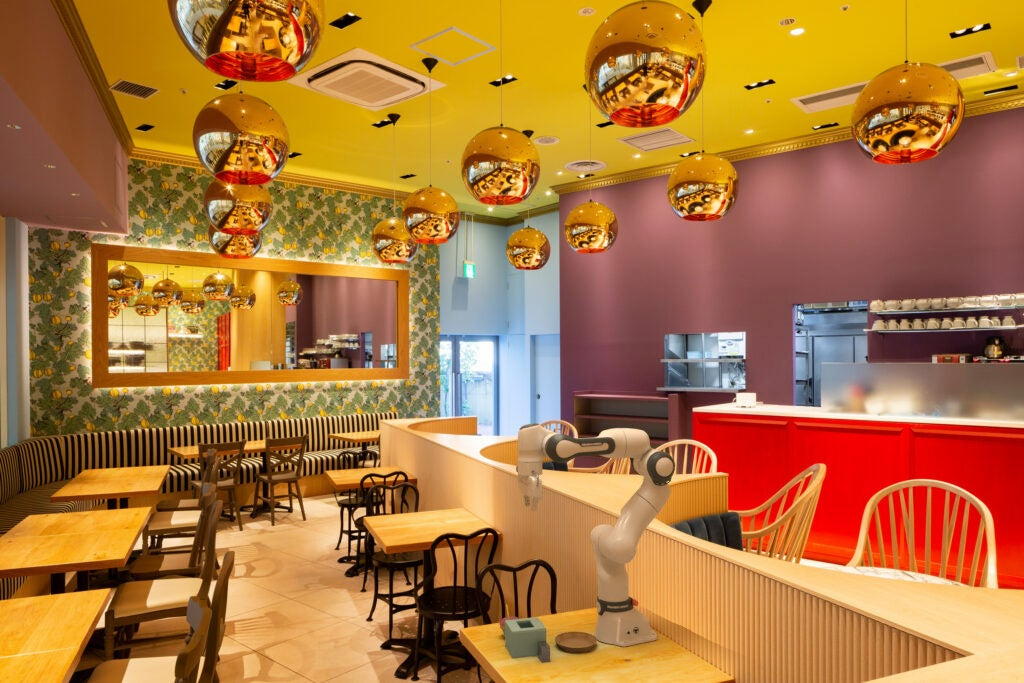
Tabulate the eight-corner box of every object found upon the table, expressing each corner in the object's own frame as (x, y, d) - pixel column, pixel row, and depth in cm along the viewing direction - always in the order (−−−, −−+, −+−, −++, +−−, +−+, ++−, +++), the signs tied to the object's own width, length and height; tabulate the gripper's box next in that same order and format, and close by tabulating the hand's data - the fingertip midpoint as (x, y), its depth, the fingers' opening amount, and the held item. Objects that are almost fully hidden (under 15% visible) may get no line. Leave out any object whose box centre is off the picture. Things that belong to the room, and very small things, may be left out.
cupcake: (495, 639, 243) (495, 605, 244) (506, 631, 250) (506, 598, 251) (516, 643, 239) (516, 608, 240) (527, 635, 246) (526, 601, 247)
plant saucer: (592, 657, 226) (591, 649, 227) (550, 652, 231) (549, 644, 231) (600, 641, 240) (600, 633, 240) (560, 636, 245) (560, 629, 245)
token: (546, 656, 228) (545, 641, 228) (550, 662, 223) (550, 646, 223) (537, 657, 227) (537, 642, 227) (541, 663, 222) (541, 647, 222)
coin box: (538, 642, 239) (537, 617, 240) (546, 654, 229) (546, 628, 229) (505, 645, 237) (505, 620, 237) (512, 658, 226) (512, 631, 226)
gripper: (546, 472, 230) (547, 513, 230) (531, 465, 250) (531, 503, 250) (529, 473, 229) (529, 514, 228) (514, 466, 249) (515, 504, 248)
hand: (530, 508), depth 239 cm, fingers open, 8 cm apart
